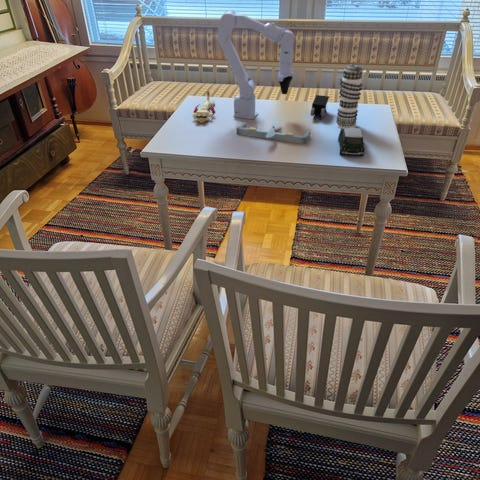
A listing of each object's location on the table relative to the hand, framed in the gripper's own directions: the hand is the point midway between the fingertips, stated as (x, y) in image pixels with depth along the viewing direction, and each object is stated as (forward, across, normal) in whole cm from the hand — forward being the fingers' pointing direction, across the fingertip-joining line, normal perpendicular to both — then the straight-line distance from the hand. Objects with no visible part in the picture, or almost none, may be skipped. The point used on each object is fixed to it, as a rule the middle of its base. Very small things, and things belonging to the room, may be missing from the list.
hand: (284, 93), depth 189 cm
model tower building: (+11, -1, -29) cm, 31 cm away
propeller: (+10, -24, -3) cm, 26 cm away
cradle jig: (+10, -23, -3) cm, 25 cm away
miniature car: (+11, -24, -36) cm, 44 cm away
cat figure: (+11, -10, +35) cm, 38 cm away
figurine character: (+11, +7, -15) cm, 20 cm away
